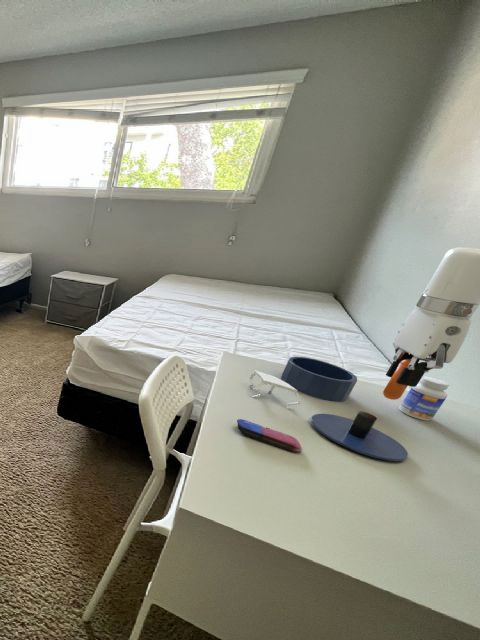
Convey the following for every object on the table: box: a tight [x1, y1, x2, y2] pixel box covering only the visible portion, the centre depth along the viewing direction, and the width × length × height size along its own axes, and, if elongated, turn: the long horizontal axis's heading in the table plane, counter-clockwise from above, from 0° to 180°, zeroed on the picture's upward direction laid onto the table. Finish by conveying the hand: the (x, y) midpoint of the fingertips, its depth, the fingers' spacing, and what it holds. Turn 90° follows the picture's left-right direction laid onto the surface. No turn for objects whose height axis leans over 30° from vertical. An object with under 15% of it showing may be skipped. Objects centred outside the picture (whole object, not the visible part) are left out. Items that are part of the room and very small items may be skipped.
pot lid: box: [310, 411, 409, 462], centre depth 75 cm, size 15×15×6 cm
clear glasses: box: [249, 369, 302, 410], centre depth 89 cm, size 12×8×5 cm
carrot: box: [382, 359, 411, 401], centre depth 81 cm, size 3×3×10 cm
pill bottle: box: [398, 376, 450, 421], centre depth 85 cm, size 5×5×10 cm
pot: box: [280, 356, 358, 402], centre depth 95 cm, size 14×14×6 cm
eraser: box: [236, 418, 303, 454], centre depth 73 cm, size 11×4×2 cm, turn 56°
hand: (400, 380), depth 81 cm, fingers closed on carrot, 2 cm apart
